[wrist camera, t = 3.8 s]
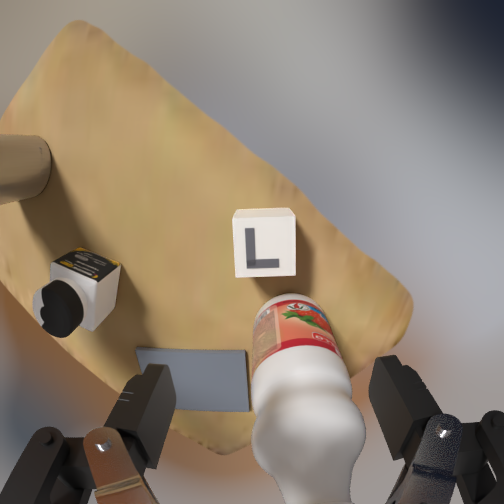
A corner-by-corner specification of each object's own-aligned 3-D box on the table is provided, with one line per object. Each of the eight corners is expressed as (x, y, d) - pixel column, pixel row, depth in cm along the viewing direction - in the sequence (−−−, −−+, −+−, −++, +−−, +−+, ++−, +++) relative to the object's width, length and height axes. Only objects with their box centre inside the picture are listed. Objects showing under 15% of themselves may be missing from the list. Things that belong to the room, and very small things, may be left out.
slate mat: (154, 403, 43) (153, 406, 42) (136, 346, 40) (135, 349, 39) (249, 408, 42) (249, 411, 42) (245, 349, 39) (244, 353, 38)
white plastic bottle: (240, 309, 37) (215, 527, 10) (308, 278, 36) (388, 489, 9) (271, 361, 40) (280, 554, 13) (334, 335, 38) (401, 523, 11)
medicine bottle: (122, 262, 36) (74, 301, 24) (115, 308, 38) (74, 355, 26) (79, 246, 35) (24, 276, 24) (75, 290, 37) (27, 329, 26)
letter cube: (239, 260, 36) (235, 278, 30) (236, 209, 34) (232, 218, 28) (289, 258, 35) (295, 276, 30) (289, 207, 34) (295, 216, 28)
